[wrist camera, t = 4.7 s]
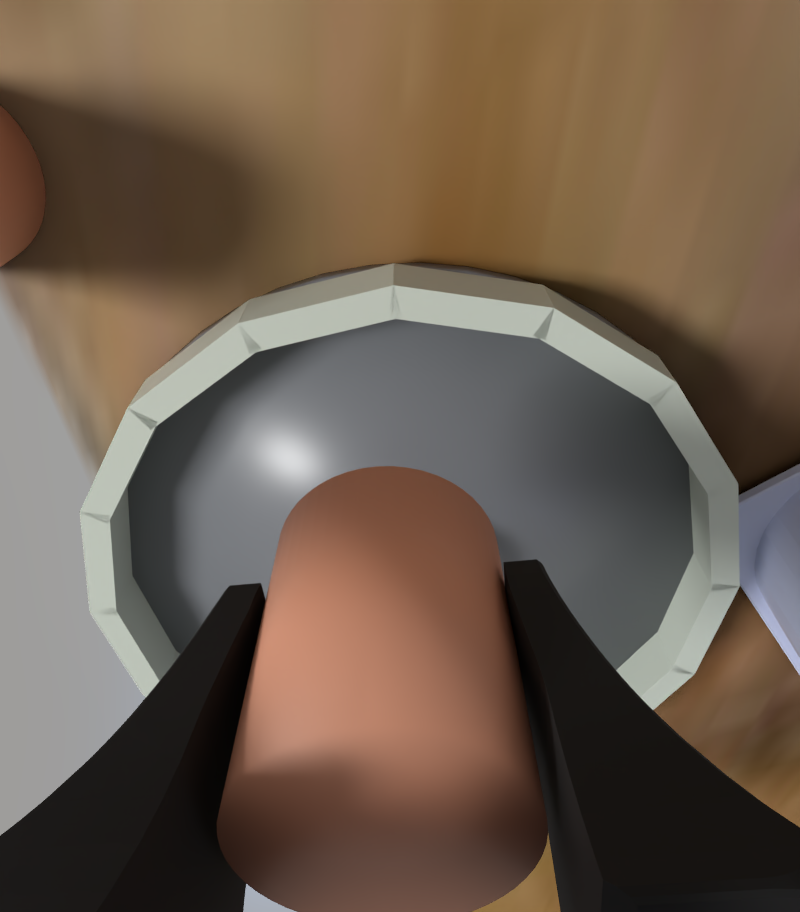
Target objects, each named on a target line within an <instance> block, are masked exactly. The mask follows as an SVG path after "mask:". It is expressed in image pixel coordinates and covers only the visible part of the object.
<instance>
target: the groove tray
mask: <svg viewBox="0 0 800 912" xmlns="http://www.w3.org/2000/svg"><path fill="white" fill-rule="evenodd" d="M376 466H396V467H407V468H412V469H417V470H422V471H425V472H428V473H431V474H435V475H437V476H440V477H442V478H444V479H446V480H448V481H450V482H452V483H454V484H455V485H457V486H458V487H460V488H461V489H463V490H464V491H465V492H467V493H468V494H469V495H470V496H471V497H473V498H474V500H475V501H476V502H477V503H478V504H479V505H480V506H481V507H482V509H483V510H484V512H485V513H486V515H487V516H488V518H489V520H490V522H491V524H492V526H493V528H494V531H495V535H496V538H497V543H498V549H499V554H500V560H501V565H502V571H503V577H504V562H510V561H522V560H534V559H537V560H538V561H540V562H541V563H542V564H543V566H544V568H545V570H546V572H547V574H548V576H549V577H550V579H551V581H552V583H553V584H554V586H555V588H556V589H557V591H558V593H559V594H560V596H561V597H562V599H563V601H564V602H565V604H566V605H567V607H568V608H569V610H570V611H571V613H572V614H573V615H574V617H575V618H576V620H577V621H578V623H579V624H580V625H581V627H582V628H583V629H584V631H585V632H586V633H587V635H588V636H589V637H590V639H591V640H592V641H593V643H594V644H595V645H596V647H597V648H598V649H599V650H600V652H601V653H602V654H603V655H604V657H605V658H606V659H607V660H608V661H609V663H610V664H611V665H612V666H613V667H614V668H615V670H616V671H617V672H618V673H619V674H620V676H621V677H622V678H623V679H624V680H625V681H626V682H627V683H628V685H629V686H630V687H631V688H632V689H633V690H634V691H635V692H636V693H637V694H638V695H639V696H640V697H641V699H642V700H643V701H644V702H645V703H646V704H647V705H648V706H649V707H650V708H651V709H652V710H654V709H655V708H656V707H657V706H658V705H659V704H661V703H662V702H663V701H664V700H665V699H666V698H668V697H669V696H670V695H671V694H672V693H673V692H675V691H676V690H677V689H678V688H679V687H680V686H682V685H683V684H684V683H685V682H686V681H687V680H689V679H690V678H691V677H692V676H693V675H694V674H695V672H696V671H697V669H698V667H699V665H700V663H701V661H702V659H703V657H704V655H705V653H706V651H707V649H708V647H709V645H710V643H711V641H712V640H713V638H714V636H715V634H716V632H717V630H718V628H719V626H720V624H721V622H722V620H723V618H724V616H725V614H726V612H727V610H728V608H729V607H730V605H731V603H732V601H733V599H734V597H735V595H736V593H737V591H738V589H739V587H740V572H739V495H738V482H737V481H736V479H735V478H734V476H733V474H732V473H731V471H730V469H729V468H728V466H727V464H726V463H725V461H724V459H723V458H722V456H721V455H720V453H719V451H718V450H717V448H716V446H715V445H714V443H713V441H712V440H711V438H710V436H709V435H708V433H707V432H706V430H705V428H704V427H703V425H702V423H701V422H700V420H699V418H698V417H697V415H696V413H695V412H694V410H693V408H692V407H691V405H690V404H689V402H688V400H687V399H686V397H685V395H684V394H683V392H682V390H681V389H680V387H679V385H678V384H677V382H676V381H675V379H674V378H673V376H672V375H671V373H670V372H669V371H668V369H667V368H666V366H665V365H664V364H663V362H662V361H661V359H660V358H659V356H658V355H656V354H654V353H653V352H651V351H650V350H648V349H646V348H645V347H643V346H641V345H640V344H638V343H637V342H635V341H634V340H633V339H632V338H631V337H630V336H628V335H627V334H626V333H624V332H623V331H621V330H620V329H619V328H617V327H616V326H615V325H613V324H612V323H610V322H609V321H608V320H606V319H605V318H603V317H602V316H601V315H599V314H598V313H597V312H595V311H593V310H591V309H589V308H587V307H585V306H583V305H581V304H579V303H577V302H576V301H574V300H572V299H570V298H568V297H566V296H564V295H562V294H560V293H558V292H556V291H553V290H550V289H549V288H547V287H546V286H544V285H541V284H534V283H531V282H528V281H525V280H522V279H520V278H517V277H514V276H510V275H505V274H500V273H496V272H491V271H486V270H481V269H477V268H472V267H467V266H455V265H442V264H430V263H401V264H395V263H393V264H382V265H368V266H362V267H357V268H351V269H346V270H340V271H335V272H329V273H324V274H320V275H317V276H314V277H311V278H308V279H305V280H301V281H298V282H295V283H292V284H289V285H286V286H283V287H280V288H277V289H275V290H273V291H271V292H269V293H267V294H264V295H262V296H260V297H256V298H252V299H249V300H248V301H246V302H245V303H244V304H243V305H241V306H239V307H237V308H236V309H234V310H233V311H231V312H230V313H228V314H227V315H225V316H224V317H222V318H221V319H219V320H218V321H216V322H215V323H213V324H212V325H210V326H209V327H207V328H206V329H204V330H203V331H201V332H200V333H199V334H198V335H197V336H196V337H195V338H193V339H192V340H191V341H190V342H189V343H188V344H187V345H186V346H185V347H183V348H182V349H181V350H180V351H179V352H178V353H177V354H176V355H175V356H173V357H172V358H171V359H170V360H169V362H168V363H166V364H165V365H164V366H162V367H161V368H160V369H159V370H157V371H156V372H155V373H153V374H152V375H151V376H150V377H148V378H147V379H146V380H145V381H144V383H143V384H142V386H141V387H140V389H139V391H138V392H137V394H136V395H135V397H134V398H133V400H132V401H131V403H130V405H129V406H128V408H127V410H126V412H125V415H124V417H123V419H122V421H121V423H120V425H119V428H118V430H117V432H116V434H115V436H114V439H113V441H112V443H111V445H110V447H109V449H108V452H107V454H106V456H105V458H104V460H103V463H102V465H101V467H100V469H99V471H98V473H97V476H96V478H95V480H94V482H93V484H92V486H91V489H90V491H89V493H88V495H87V498H86V500H85V502H84V504H83V506H82V508H81V511H80V520H81V530H82V540H83V551H84V561H85V571H86V580H87V590H88V601H89V610H90V613H91V615H92V617H93V618H94V620H95V621H96V623H97V625H98V626H99V628H100V629H101V631H102V632H103V634H104V635H105V637H106V639H107V640H108V642H109V643H110V645H111V646H112V648H113V649H114V651H115V652H116V654H117V656H118V657H119V659H120V660H121V662H122V663H123V665H124V667H125V668H126V670H127V671H128V673H129V674H130V676H131V677H132V679H133V681H134V682H135V684H136V685H137V687H138V688H139V690H140V691H141V693H142V695H144V696H145V697H147V696H148V694H149V693H150V692H151V691H152V690H153V688H154V687H155V686H156V685H157V683H158V682H159V681H160V680H161V679H162V677H163V676H164V675H165V674H166V672H167V671H168V670H169V668H170V667H171V666H172V664H173V663H174V662H175V660H176V659H177V658H178V656H179V655H180V654H181V652H182V651H183V650H184V648H185V647H186V646H187V644H188V643H189V642H190V640H191V639H192V637H193V636H194V634H195V633H196V632H197V630H198V629H199V627H200V626H201V625H202V623H203V622H204V620H205V619H206V617H207V616H208V615H209V613H210V612H211V610H212V609H213V607H214V606H215V604H216V603H217V601H218V600H219V599H220V597H221V596H222V594H223V593H224V591H225V590H226V589H227V588H228V587H229V586H230V585H242V584H254V583H261V585H262V588H263V592H264V596H265V599H266V597H267V592H268V588H269V583H270V578H271V574H272V569H273V565H274V560H275V556H276V551H277V547H278V542H279V538H280V533H281V530H282V528H283V525H284V523H285V520H286V519H287V517H288V515H289V514H290V512H291V510H292V509H293V508H294V507H295V505H296V504H297V503H298V502H299V501H300V500H301V499H302V498H303V497H304V496H305V495H306V494H307V493H308V492H309V491H311V490H312V489H314V488H315V487H317V486H318V485H319V484H321V483H323V482H325V481H327V480H329V479H331V478H333V477H335V476H338V475H340V474H343V473H346V472H349V471H353V470H357V469H361V468H369V467H376Z"/></svg>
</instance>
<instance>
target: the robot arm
mask: <svg viewBox="0 0 800 912" xmlns="http://www.w3.org/2000/svg"><path fill="white" fill-rule="evenodd" d="M739 572H740V586H741V588H742V589H743V591H744V592H745V594H746V595H747V597H748V598H749V600H750V601H751V603H752V604H753V606H754V607H755V609H756V610H757V612H758V613H759V615H760V616H761V618H762V619H763V621H764V622H765V624H766V625H767V627H768V628H769V630H770V631H771V633H772V634H773V636H774V637H775V639H776V640H777V642H778V643H779V645H780V646H781V648H782V649H783V651H784V652H785V654H786V655H787V657H788V658H789V660H790V661H791V663H792V664H793V666H794V667H795V669H796V670H797V672H798V673H799V675H800V464H798V465H796V466H794V467H792V468H790V469H789V470H787V471H785V472H783V473H781V474H779V475H777V476H775V477H773V478H771V479H769V480H767V481H765V482H763V483H762V484H760V485H758V486H756V487H754V488H752V489H750V490H748V491H746V492H744V493H742V494H740V495H739ZM504 583H505V590H506V596H507V601H508V607H509V613H510V618H511V624H512V628H513V633H514V638H515V643H516V649H517V654H518V660H519V665H520V671H521V677H522V682H523V688H524V693H525V699H526V704H527V710H528V716H529V721H530V727H531V732H532V738H533V743H534V749H535V754H536V760H537V766H538V771H539V777H540V782H541V788H542V793H543V799H544V805H545V810H546V816H547V824H548V833H549V840H550V846H551V852H552V859H553V865H554V871H555V878H556V884H557V890H558V897H559V904H560V910H561V912H800V828H799V827H798V826H796V825H795V824H793V823H792V822H790V821H789V820H787V819H786V818H784V817H783V816H781V815H780V814H778V813H777V812H775V811H774V810H772V809H771V808H770V807H768V806H767V805H765V804H764V803H763V802H761V801H760V800H758V799H757V798H756V797H754V796H753V795H752V794H750V793H749V792H748V791H746V790H745V789H744V788H742V787H741V786H740V785H739V784H737V783H736V782H735V781H733V780H732V779H731V778H729V777H728V776H727V775H725V774H724V773H723V772H722V771H721V770H720V769H718V768H717V767H716V766H715V765H714V764H712V763H711V762H710V761H709V760H708V759H706V758H705V757H704V756H703V755H702V754H701V753H699V752H698V751H697V750H696V749H695V748H693V747H692V746H691V745H690V744H689V743H687V742H686V741H685V740H684V739H683V738H682V737H681V736H679V735H678V734H677V733H676V732H675V731H674V730H673V729H672V728H671V727H670V726H669V725H668V724H667V723H666V722H665V721H664V720H663V719H661V718H660V717H659V716H658V715H657V714H656V713H655V712H654V711H653V710H652V709H651V708H650V707H649V706H648V705H647V704H646V703H645V702H644V701H643V700H642V699H641V697H640V696H639V695H638V694H637V693H636V692H635V691H634V690H633V689H632V688H631V687H630V686H629V685H628V683H627V682H626V681H625V680H624V679H623V678H622V677H621V676H620V674H619V673H618V672H617V671H616V670H615V668H614V667H613V666H612V665H611V664H610V663H609V661H608V660H607V659H606V658H605V657H604V655H603V654H602V653H601V652H600V650H599V649H598V648H597V647H596V645H595V644H594V643H593V641H592V640H591V639H590V637H589V636H588V635H587V633H586V632H585V631H584V629H583V628H582V627H581V625H580V624H579V623H578V621H577V620H576V618H575V617H574V615H573V614H572V613H571V611H570V610H569V608H568V607H567V605H566V604H565V602H564V601H563V599H562V597H561V596H560V594H559V593H558V591H557V589H556V588H555V586H554V584H553V583H552V581H551V579H550V577H549V576H548V574H547V572H546V570H545V568H544V566H543V564H542V563H541V562H540V561H538V560H537V559H534V560H522V561H510V562H504ZM265 601H266V599H265V596H264V592H263V588H262V585H261V583H254V584H242V585H230V586H229V587H228V588H227V589H226V590H225V591H224V593H223V594H222V596H221V597H220V599H219V600H218V601H217V603H216V604H215V606H214V607H213V609H212V610H211V612H210V613H209V615H208V616H207V617H206V619H205V620H204V622H203V623H202V625H201V626H200V627H199V629H198V630H197V632H196V633H195V634H194V636H193V637H192V639H191V640H190V642H189V643H188V644H187V646H186V647H185V648H184V650H183V651H182V652H181V654H180V655H179V656H178V658H177V659H176V660H175V662H174V663H173V664H172V666H171V667H170V668H169V670H168V671H167V672H166V674H165V675H164V676H163V677H162V679H161V680H160V681H159V682H158V683H157V685H156V686H155V687H154V688H153V690H152V691H151V692H150V693H149V694H148V696H147V697H146V698H145V699H144V700H143V702H142V703H141V704H140V705H139V707H138V708H137V709H136V710H135V711H134V712H133V714H132V715H131V716H130V717H129V718H128V719H127V721H126V722H125V723H124V724H123V725H122V726H121V727H120V728H119V729H118V730H117V731H116V732H115V734H114V735H113V736H112V737H111V738H110V739H109V740H108V741H107V742H106V743H105V744H104V745H103V746H102V747H101V748H100V749H99V750H98V751H97V752H96V753H95V754H94V755H93V756H92V757H91V758H90V759H89V760H88V761H87V762H86V763H85V764H84V765H83V766H82V767H81V768H79V770H77V771H76V772H75V773H74V774H73V775H72V776H71V777H70V778H69V779H68V780H66V781H65V782H64V783H63V784H62V785H61V786H60V787H59V788H57V789H56V790H55V791H54V792H53V793H52V794H51V795H50V796H49V797H48V798H46V799H45V800H44V801H43V802H42V803H41V804H39V805H38V806H37V807H36V808H35V809H33V810H32V811H31V812H30V813H28V814H27V815H26V816H25V817H24V818H22V819H21V820H20V821H19V822H17V823H16V824H15V825H14V826H12V827H11V828H10V829H9V830H7V831H6V832H5V833H3V834H2V835H1V836H0V912H243V906H244V897H245V888H246V883H245V882H244V881H243V880H242V879H241V878H240V877H239V876H238V875H237V874H236V873H235V872H234V871H233V869H232V868H231V866H230V865H229V864H228V862H227V861H226V859H225V857H224V855H223V853H222V851H221V849H220V845H219V841H218V837H217V819H218V814H219V809H220V804H221V800H222V795H223V791H224V786H225V782H226V777H227V772H228V768H229V763H230V759H231V754H232V750H233V745H234V741H235V736H236V732H237V727H238V723H239V718H240V714H241V709H242V705H243V700H244V696H245V691H246V687H247V682H248V678H249V673H250V669H251V664H252V660H253V655H254V651H255V646H256V642H257V637H258V633H259V628H260V624H261V619H262V615H263V610H264V606H265Z"/></svg>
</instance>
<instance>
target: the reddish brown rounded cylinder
mask: <svg viewBox="0 0 800 912" xmlns="http://www.w3.org/2000/svg"><path fill="white" fill-rule="evenodd" d="M45 203H46V193H45V183H44V177H43V173H42V170H41V166H40V163H39V160H38V158H37V156H36V153H35V151H34V149H33V147H32V145H31V143H30V142H29V140H28V138H27V136H26V135H25V133H24V132H23V130H22V129H21V128H20V126H19V125H18V124H17V122H16V121H15V120H14V119H13V118H12V116H11V115H10V114H9V113H8V112H7V111H6V110H5V109H4V108H3V107H2V106H1V105H0V267H1V266H3V265H4V264H6V263H7V262H8V261H10V260H11V259H13V258H14V257H15V256H17V255H18V254H19V253H21V252H22V251H23V250H25V249H26V248H27V246H28V245H29V244H30V243H31V242H32V241H33V239H34V238H35V236H36V235H37V233H38V231H39V228H40V226H41V224H42V221H43V217H44V213H45Z"/></svg>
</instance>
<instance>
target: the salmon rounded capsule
mask: <svg viewBox="0 0 800 912" xmlns="http://www.w3.org/2000/svg"><path fill="white" fill-rule="evenodd" d="M547 835H548V824H547V816H546V810H545V805H544V799H543V793H542V788H541V782H540V777H539V771H538V766H537V760H536V754H535V749H534V743H533V738H532V732H531V727H530V721H529V716H528V710H527V704H526V699H525V693H524V688H523V682H522V677H521V671H520V665H519V660H518V654H517V649H516V643H515V638H514V633H513V628H512V624H511V618H510V613H509V607H508V601H507V596H506V590H505V583H504V577H503V571H502V565H501V560H500V554H499V549H498V543H497V538H496V535H495V531H494V528H493V526H492V524H491V522H490V520H489V518H488V516H487V515H486V513H485V512H484V510H483V509H482V507H481V506H480V505H479V504H478V503H477V502H476V501H475V500H474V498H473V497H471V496H470V495H469V494H468V493H467V492H465V491H464V490H463V489H461V488H460V487H458V486H457V485H455V484H454V483H452V482H450V481H448V480H446V479H444V478H442V477H440V476H437V475H435V474H431V473H428V472H425V471H422V470H417V469H412V468H407V467H396V466H376V467H369V468H361V469H357V470H353V471H349V472H346V473H343V474H340V475H338V476H335V477H333V478H331V479H329V480H327V481H325V482H323V483H321V484H319V485H318V486H317V487H315V488H314V489H312V490H311V491H309V492H308V493H307V494H306V495H305V496H304V497H303V498H302V499H301V500H300V501H299V502H298V503H297V504H296V505H295V507H294V508H293V509H292V510H291V512H290V514H289V515H288V517H287V519H286V520H285V523H284V525H283V528H282V530H281V533H280V538H279V542H278V547H277V551H276V556H275V560H274V565H273V569H272V574H271V578H270V583H269V588H268V592H267V597H266V601H265V606H264V610H263V615H262V619H261V624H260V628H259V633H258V637H257V642H256V646H255V651H254V655H253V660H252V664H251V669H250V673H249V678H248V682H247V687H246V691H245V696H244V700H243V705H242V709H241V714H240V718H239V723H238V727H237V732H236V736H235V741H234V745H233V750H232V754H231V759H230V763H229V768H228V772H227V777H226V782H225V786H224V791H223V795H222V800H221V804H220V809H219V814H218V819H217V837H218V841H219V845H220V849H221V851H222V853H223V855H224V857H225V859H226V861H227V862H228V864H229V865H230V866H231V868H232V869H233V871H234V872H235V873H236V874H237V875H238V876H239V877H240V878H241V879H242V880H243V881H244V882H245V883H246V884H248V885H249V886H250V887H252V888H253V889H254V890H255V891H257V892H258V893H260V894H262V895H264V896H265V897H267V898H268V899H270V900H272V901H274V902H276V903H278V904H280V905H282V906H284V907H286V908H289V909H292V910H294V911H297V912H471V911H474V910H476V909H478V908H481V907H483V906H486V905H488V904H490V903H492V902H493V901H495V900H497V899H499V898H501V897H502V896H504V895H505V894H507V893H508V892H510V891H511V890H513V889H514V888H515V887H517V886H518V885H519V884H520V883H521V882H522V881H523V880H525V879H526V878H527V876H528V875H529V874H530V873H531V872H532V871H533V869H534V868H535V867H536V865H537V863H538V862H539V860H540V858H541V857H542V854H543V852H544V849H545V846H546V843H547Z"/></svg>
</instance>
